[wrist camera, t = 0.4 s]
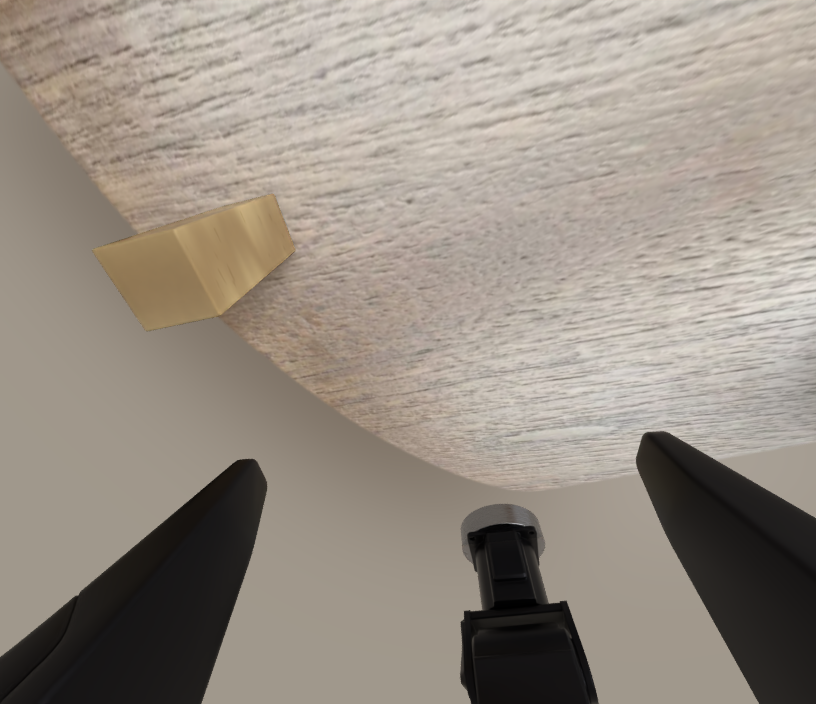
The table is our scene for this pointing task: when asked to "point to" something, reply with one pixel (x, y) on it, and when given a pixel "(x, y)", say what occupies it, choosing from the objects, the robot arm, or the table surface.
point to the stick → (197, 262)
